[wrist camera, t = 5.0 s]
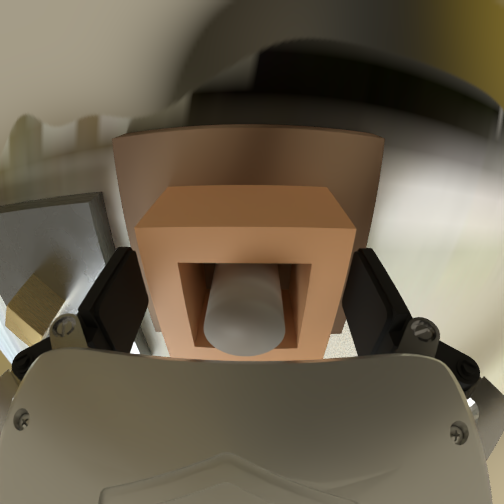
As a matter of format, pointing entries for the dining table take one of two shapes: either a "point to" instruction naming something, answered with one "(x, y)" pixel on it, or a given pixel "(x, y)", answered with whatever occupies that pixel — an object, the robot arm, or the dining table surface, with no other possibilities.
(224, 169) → the stand
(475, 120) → the dining table surface
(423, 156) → the dining table surface
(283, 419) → the robot arm
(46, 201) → the base plate
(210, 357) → the collar
